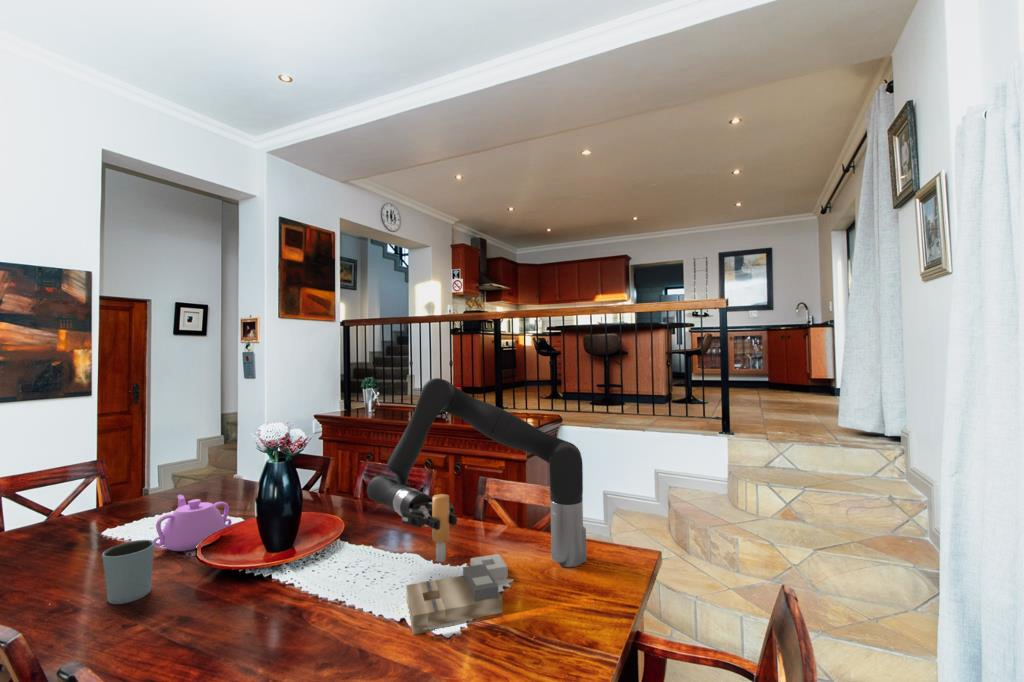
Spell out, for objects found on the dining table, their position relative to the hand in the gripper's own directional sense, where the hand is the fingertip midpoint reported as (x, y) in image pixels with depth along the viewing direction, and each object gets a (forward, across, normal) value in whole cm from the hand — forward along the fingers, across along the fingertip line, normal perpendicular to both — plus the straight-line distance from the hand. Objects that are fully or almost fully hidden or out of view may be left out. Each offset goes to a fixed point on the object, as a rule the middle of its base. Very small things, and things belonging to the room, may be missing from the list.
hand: (446, 522), depth 110 cm
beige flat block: (+1, +1, +20) cm, 20 cm away
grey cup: (-58, -58, +21) cm, 85 cm away
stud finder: (+3, +7, +16) cm, 18 cm away
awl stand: (-6, +17, +20) cm, 27 cm away
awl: (-3, 0, +10) cm, 10 cm away
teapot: (-89, -42, +21) cm, 100 cm away
